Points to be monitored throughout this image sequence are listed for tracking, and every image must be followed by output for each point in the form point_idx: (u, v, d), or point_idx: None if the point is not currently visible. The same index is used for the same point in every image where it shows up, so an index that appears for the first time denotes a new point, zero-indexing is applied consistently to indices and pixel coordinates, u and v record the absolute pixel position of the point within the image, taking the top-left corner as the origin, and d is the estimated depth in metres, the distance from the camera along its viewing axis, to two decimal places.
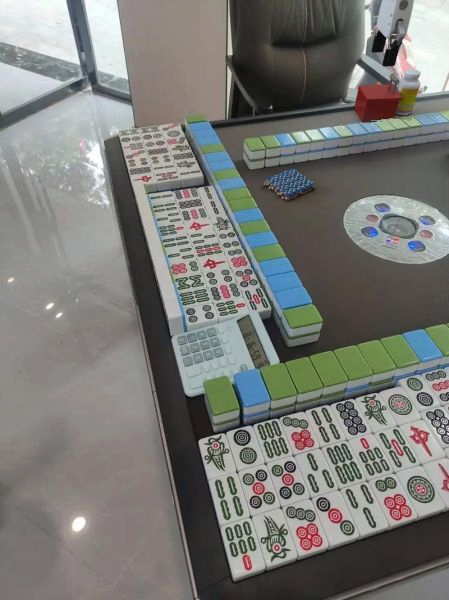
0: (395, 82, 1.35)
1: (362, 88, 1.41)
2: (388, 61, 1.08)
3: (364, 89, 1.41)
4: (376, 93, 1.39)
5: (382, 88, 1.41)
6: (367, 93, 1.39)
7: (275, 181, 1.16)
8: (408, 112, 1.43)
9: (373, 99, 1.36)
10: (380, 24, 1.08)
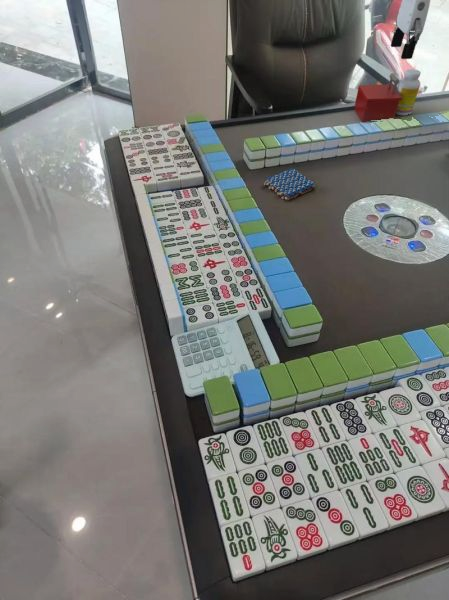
0: (395, 82, 1.35)
1: (362, 88, 1.41)
2: (406, 54, 1.26)
3: (364, 89, 1.41)
4: (376, 93, 1.39)
5: (382, 88, 1.41)
6: (367, 93, 1.39)
7: (275, 181, 1.16)
8: (408, 112, 1.43)
9: (373, 99, 1.36)
10: (400, 22, 1.26)
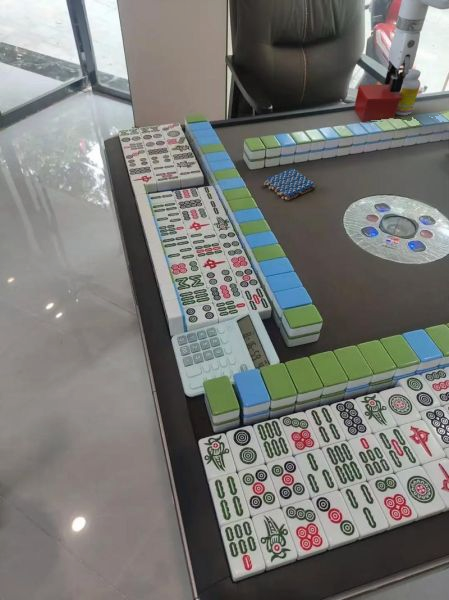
0: None
1: (362, 88, 1.41)
2: (395, 88, 1.35)
3: (364, 89, 1.41)
4: (376, 93, 1.39)
5: (382, 88, 1.41)
6: (367, 93, 1.39)
7: (275, 181, 1.16)
8: (408, 112, 1.43)
9: (373, 99, 1.36)
10: (391, 57, 1.33)
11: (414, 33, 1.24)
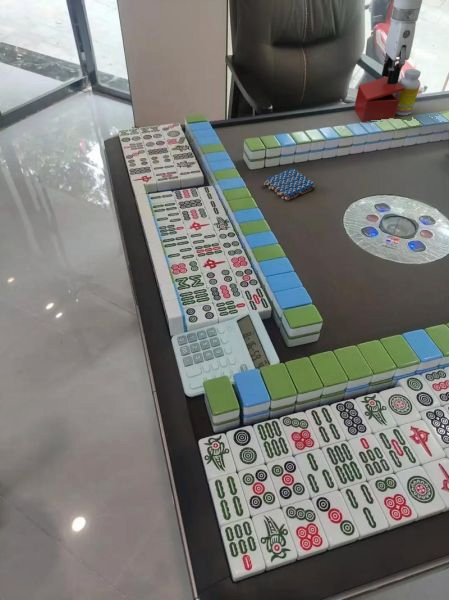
0: None
1: (362, 88, 1.41)
2: (392, 80, 1.33)
3: (364, 88, 1.40)
4: (376, 90, 1.38)
5: (383, 82, 1.40)
6: (367, 92, 1.38)
7: (275, 181, 1.16)
8: (408, 112, 1.43)
9: (373, 97, 1.36)
10: (387, 48, 1.31)
11: (409, 23, 1.22)
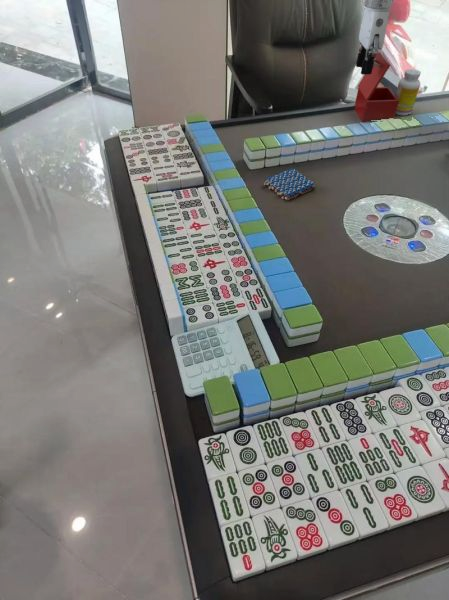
0: None
1: (360, 87, 1.41)
2: (365, 70, 1.31)
3: (362, 87, 1.40)
4: (370, 82, 1.36)
5: (373, 68, 1.36)
6: (364, 91, 1.38)
7: (275, 181, 1.16)
8: (408, 112, 1.43)
9: (370, 93, 1.35)
10: (361, 38, 1.29)
11: (382, 11, 1.19)
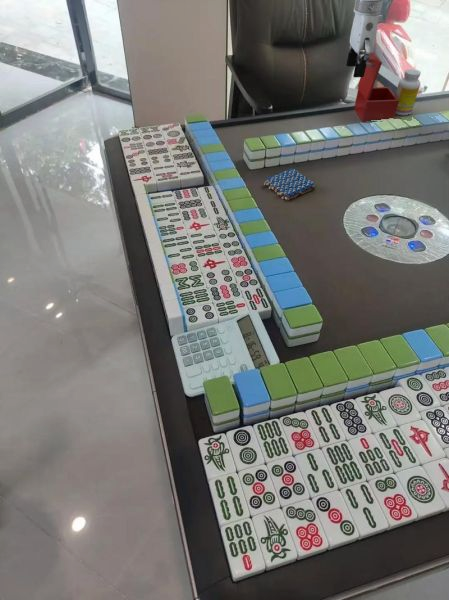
0: None
1: (360, 88, 1.41)
2: (358, 73, 1.30)
3: (361, 87, 1.40)
4: (367, 82, 1.36)
5: (367, 67, 1.36)
6: (363, 91, 1.38)
7: (275, 181, 1.16)
8: (408, 112, 1.43)
9: (369, 93, 1.35)
10: (352, 41, 1.29)
11: (372, 15, 1.20)
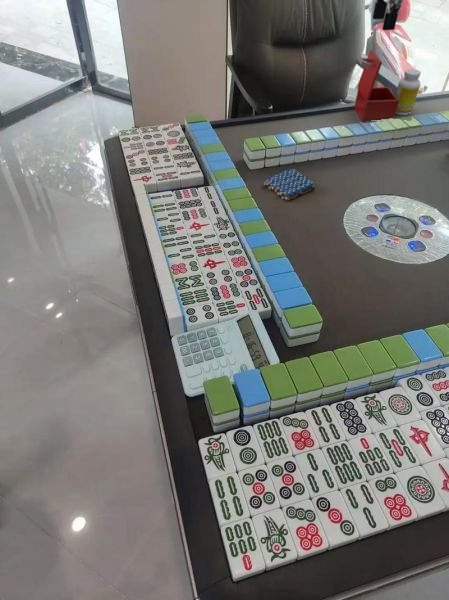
0: (362, 66, 1.31)
1: (360, 88, 1.41)
2: (388, 25, 1.17)
3: (361, 87, 1.40)
4: (367, 82, 1.36)
5: (367, 67, 1.36)
6: (363, 91, 1.38)
7: (275, 181, 1.16)
8: (408, 112, 1.43)
9: (369, 93, 1.35)
10: None
11: None
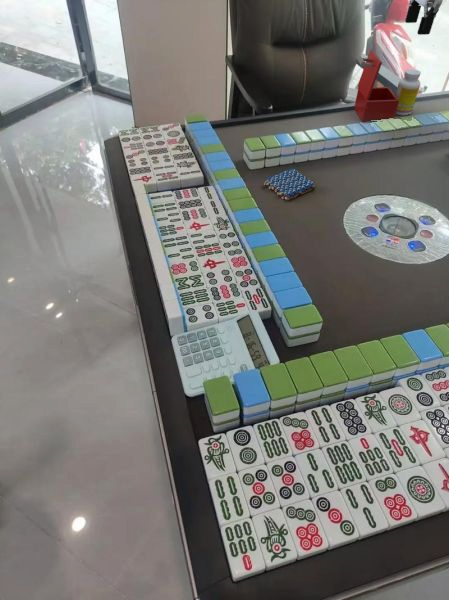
0: (362, 66, 1.31)
1: (360, 88, 1.41)
2: (423, 29, 1.13)
3: (361, 87, 1.40)
4: (367, 82, 1.36)
5: (367, 67, 1.36)
6: (363, 91, 1.38)
7: (275, 181, 1.16)
8: (408, 112, 1.43)
9: (369, 93, 1.35)
10: None
11: None
